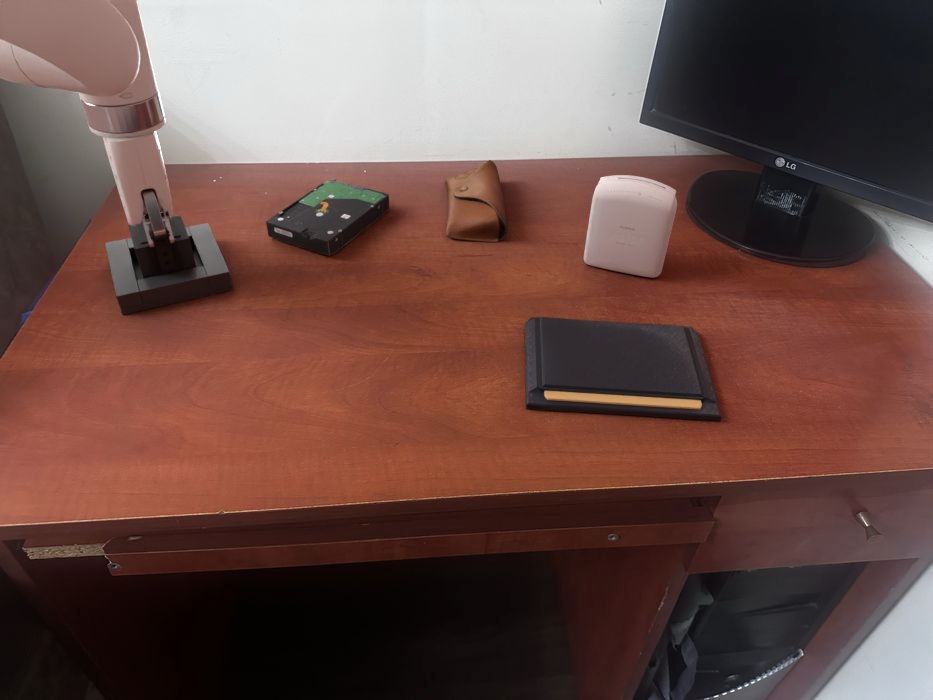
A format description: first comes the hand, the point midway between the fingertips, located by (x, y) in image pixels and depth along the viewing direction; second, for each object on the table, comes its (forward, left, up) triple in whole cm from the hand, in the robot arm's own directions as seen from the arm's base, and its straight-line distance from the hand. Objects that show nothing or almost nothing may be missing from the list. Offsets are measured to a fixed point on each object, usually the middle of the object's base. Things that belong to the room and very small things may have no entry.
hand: (164, 256), depth 85 cm
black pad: (0, 0, -1) cm, 1 cm away
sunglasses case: (+42, 0, -3) cm, 42 cm away
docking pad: (0, 0, -3) cm, 3 cm away
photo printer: (+53, -21, -3) cm, 57 cm away
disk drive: (+22, +4, -3) cm, 23 cm away
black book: (+40, -37, -3) cm, 55 cm away
